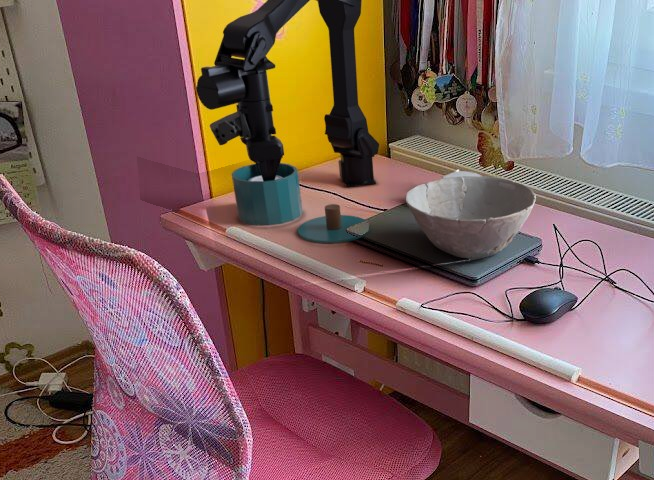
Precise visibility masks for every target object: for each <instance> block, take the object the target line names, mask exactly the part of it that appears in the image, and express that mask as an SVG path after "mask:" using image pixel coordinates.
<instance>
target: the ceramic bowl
mask: <svg viewBox="0 0 654 480" xmlns="http://www.w3.org/2000/svg"><path fill="white" fill-rule="evenodd" d="M536 201H537V195H536V193H535V192H534V190H533V189H531V188H530V187H528V186H526V185H524V184H522V183H519V182H517V181H513V180H511V179H505V178H502V177H494V176H493V177H492V176H485V175H481V176H480V177H478V176H463V177H450V178H444V179H442V178H440V179H437V180H431V181H428V182H426V183H421V184H419V185H416V186H414V187H412V188H410V189H409V190H408V191H407V192H406V196H405V203H406V205H407V207H408V208H409V210H410V212H411V214H412V215H413V217H414V220H415V222H416V223H417V225H418V226H419V228H420V229H421V231H422V232H423V233H424V234H425V235H426V237H427V239H428V240H429V242H431V243H432V244H433V245H434V246H435V247H436V248H437V249H439V250H440V251H442V252H444V253H446V254H449V255H452V256H454V257H457V258H460V259H461V258H462V259H468V260H472V261H473V260H481V259H484V258H488V257H492V256H493V255H495V254H497V253H499V252H502V250H503V249H505V248H507V246H508V245H509V244H511V243H512V242H513V238H514V237H515V236H516V235H517V234H518V233H519V231H520V230H521V228H522V227H523V225H524V224H525V222H526V221H527V219H528V217H529V216H530V214H531V212H532V210H533V208H534V205H535V203H536Z"/></svg>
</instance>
